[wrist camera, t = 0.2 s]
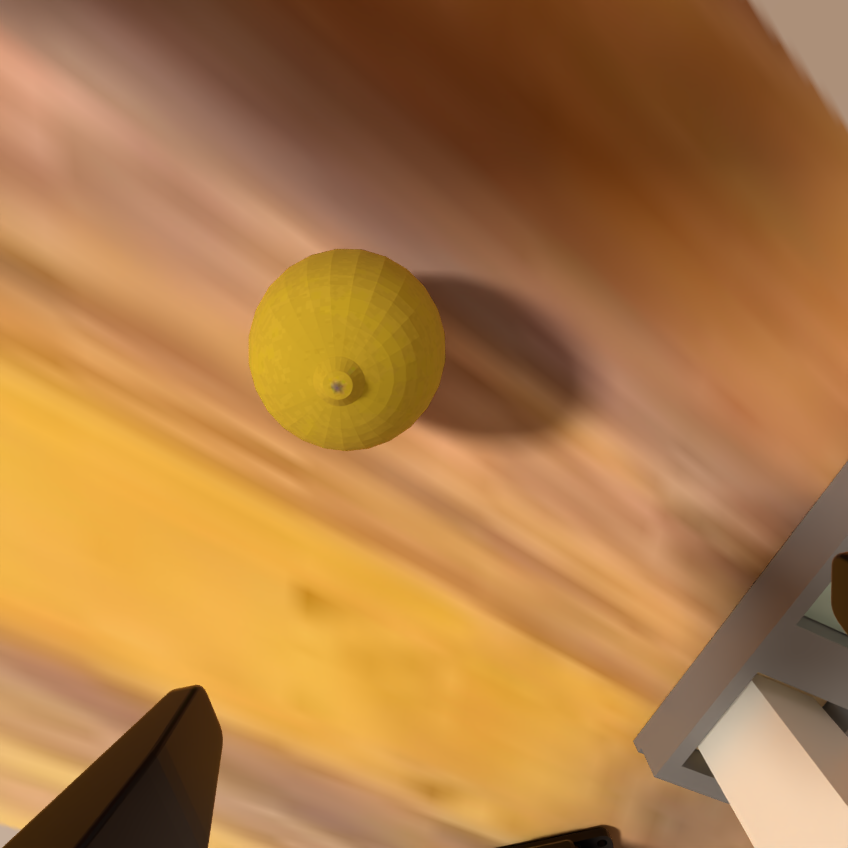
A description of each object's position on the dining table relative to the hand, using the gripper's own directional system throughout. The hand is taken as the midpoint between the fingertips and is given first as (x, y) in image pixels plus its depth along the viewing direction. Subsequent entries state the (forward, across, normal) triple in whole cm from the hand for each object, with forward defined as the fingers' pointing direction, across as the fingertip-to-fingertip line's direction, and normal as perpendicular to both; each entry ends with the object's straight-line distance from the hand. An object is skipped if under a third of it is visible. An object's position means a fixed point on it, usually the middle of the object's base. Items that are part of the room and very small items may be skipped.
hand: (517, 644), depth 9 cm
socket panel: (+14, -13, +15) cm, 25 cm away
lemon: (+14, +2, -3) cm, 15 cm away
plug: (+14, -10, +18) cm, 25 cm away
